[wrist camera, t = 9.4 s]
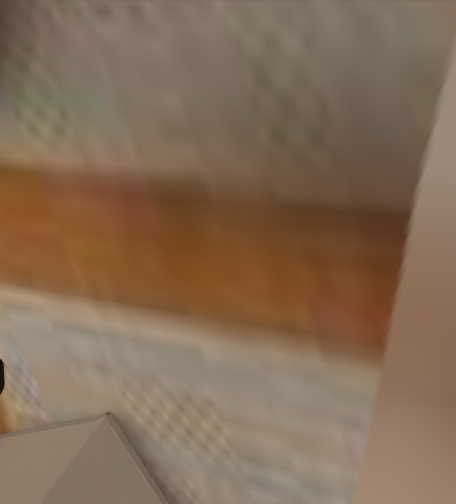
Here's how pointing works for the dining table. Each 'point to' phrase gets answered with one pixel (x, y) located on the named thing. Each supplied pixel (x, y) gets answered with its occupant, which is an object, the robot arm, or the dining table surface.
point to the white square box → (74, 466)
